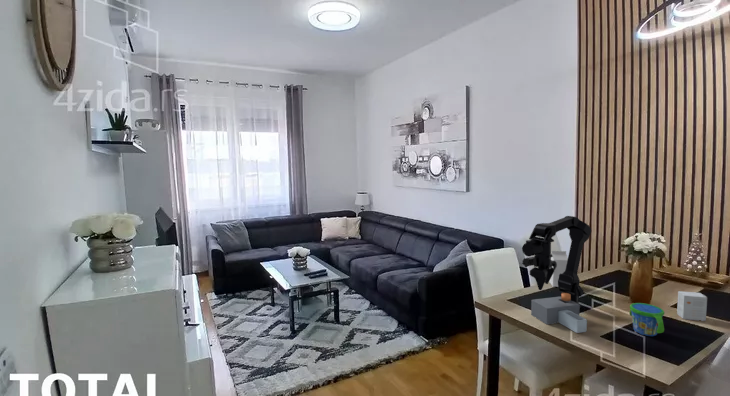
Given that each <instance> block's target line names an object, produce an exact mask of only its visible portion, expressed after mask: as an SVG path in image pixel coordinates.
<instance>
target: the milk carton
mask: <svg viewBox="0 0 730 396" xmlns="http://www.w3.org/2000/svg"><path fill="white" fill-rule="evenodd" d="M551 254H552V257H551V260H553V261H555V262H556V263H557V267H556V269H555V271H554V273H553V275H552V277H551V279H550V281H549V283H548V284H550V285H551V286H552V287H553V288H556V287H557V288H559V286H558V279H559V274H560V273H561V274H562V273H563V272H564V271H565V269H566V265H567V260H568V255H567V251H566V250H565V251H564V250H563V251H562V250H561V251H560V250H551ZM552 268H553V266H552Z"/></svg>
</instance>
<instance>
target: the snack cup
mask: <svg viewBox="0 0 730 396" xmlns="http://www.w3.org/2000/svg"><path fill="white" fill-rule="evenodd" d="M629 316H630V317H631V318H632V319H631V321H632V328H633V330H634V331H635V332H636V333H638V334H640V335H643V336H646V337H655V336H658V334H662V333H664V332H665V326H664V320H663V317H664V316H665V311H664V309H662V308H661V307H659V306H657V305H653V304H651V303H650V304H649V303H643V302H635V303H634V302H633V303H631V304H630V305H629Z"/></svg>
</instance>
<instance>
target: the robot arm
mask: <svg viewBox="0 0 730 396" xmlns="http://www.w3.org/2000/svg"><path fill="white" fill-rule="evenodd" d="M565 229H566V230H568V231H569V234H568V235H569V238H570V240H571V241H570V247H569V251H568V255H567V258H568V260H567V265H566V269H565V271H564V272H563V273H562V274H561V273H560V274H559V279H558V286H559V287H558V290H559V292H561V293H569V294H571V301H573V302H576V303H578V304H580V297H582V296H583V295H584V289H583V288H582V287H581V285H580V278H579V275H578V271H579V268H580V262H581V258H582V254H583V253H582V252H583V248H584V244H585V243H586V242H587V241H588V240H589V238H590V236H591V233H592V227H591V226H590V225H589V224H587V222H584V221H582V220H581V219H580V218H579V217H577V216H572V215H566V216H564V217H562V218H559V219H557V220H555V221H554V220H553V221H551V222H547V223H546V222H545V223H544V222H543V223H542V222H541V223H537V224H535V226H534V227H533V230H532V232H531V234H530V236H529V237H528V239H526V241H525V242H524V244H523V245H522V246H521V251H522V253H523V254H524V256H526V257H525V258H523V259H522V260H521V261H522V263H521V264H522V265H523V266H524V268H527V267H531V266H533V267H532V268H531V269H530V270H529V276H530V277H532V278H534V279H535V282H536V285H537V288H538V290H539V291H542V290H543V287H544V286H545V284H546V285H548V284H550V283H549V281H550V279H551V277H552V275H553V273H554V271H555V269H556V267H557V263H556V262H555V261H553V260H551V257H552V243H554V242H555V239H553V238H554V237H555V236H556V234H557V233H558V232H560V231H562V230H565ZM552 266H553V268H552ZM580 308H581V309H582V306H581V305H580Z"/></svg>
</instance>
